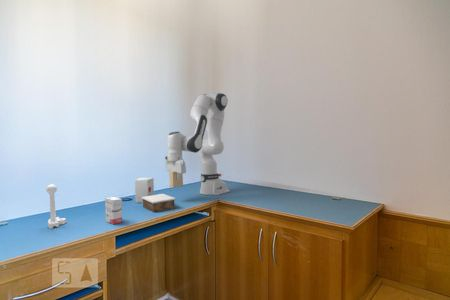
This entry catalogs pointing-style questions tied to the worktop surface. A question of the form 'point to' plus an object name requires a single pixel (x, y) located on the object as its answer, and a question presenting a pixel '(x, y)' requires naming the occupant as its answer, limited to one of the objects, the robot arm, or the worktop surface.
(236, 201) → the worktop surface
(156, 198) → the podium
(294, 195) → the worktop surface
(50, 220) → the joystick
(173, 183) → the carton
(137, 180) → the supplement box
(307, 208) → the worktop surface
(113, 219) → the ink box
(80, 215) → the worktop surface
